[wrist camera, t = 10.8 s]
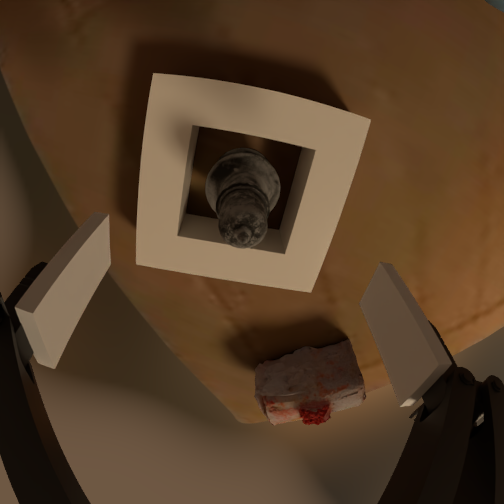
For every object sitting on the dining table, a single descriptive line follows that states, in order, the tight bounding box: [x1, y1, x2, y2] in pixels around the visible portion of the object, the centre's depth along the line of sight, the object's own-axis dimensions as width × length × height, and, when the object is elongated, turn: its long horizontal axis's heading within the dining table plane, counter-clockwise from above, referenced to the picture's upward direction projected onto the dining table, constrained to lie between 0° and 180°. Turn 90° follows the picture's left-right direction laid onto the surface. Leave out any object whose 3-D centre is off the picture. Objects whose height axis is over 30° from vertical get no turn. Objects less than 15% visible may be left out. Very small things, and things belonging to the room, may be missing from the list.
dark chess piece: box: [205, 148, 281, 249], centre depth 21 cm, size 6×6×12 cm
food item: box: [255, 339, 366, 425], centre depth 35 cm, size 14×8×10 cm, turn 108°
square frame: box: [136, 73, 371, 292], centre depth 24 cm, size 16×16×4 cm
